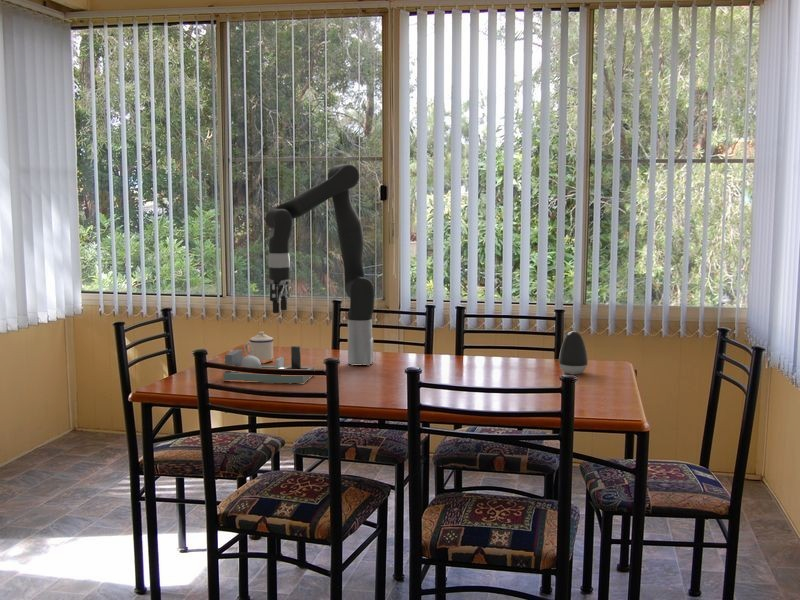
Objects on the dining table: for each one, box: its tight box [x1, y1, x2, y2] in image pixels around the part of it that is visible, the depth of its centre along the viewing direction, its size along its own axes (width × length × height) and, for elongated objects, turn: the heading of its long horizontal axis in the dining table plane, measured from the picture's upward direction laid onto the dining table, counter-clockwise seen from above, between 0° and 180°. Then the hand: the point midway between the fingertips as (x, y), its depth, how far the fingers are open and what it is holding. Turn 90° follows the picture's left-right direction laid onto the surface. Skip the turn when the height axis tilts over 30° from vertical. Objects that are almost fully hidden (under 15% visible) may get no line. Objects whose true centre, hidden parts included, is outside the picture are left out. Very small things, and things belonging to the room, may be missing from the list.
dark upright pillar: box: [274, 345, 302, 369], centre depth 287 cm, size 8×6×11 cm
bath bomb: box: [239, 355, 263, 368], centre depth 289 cm, size 8×8×8 cm
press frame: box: [222, 349, 315, 385], centre depth 288 cm, size 28×15×9 cm, turn 82°
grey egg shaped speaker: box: [558, 330, 589, 375], centre depth 298 cm, size 10×10×15 cm
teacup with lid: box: [243, 331, 274, 360], centre depth 321 cm, size 12×9×12 cm
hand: (280, 311), depth 295 cm, fingers open, 8 cm apart
